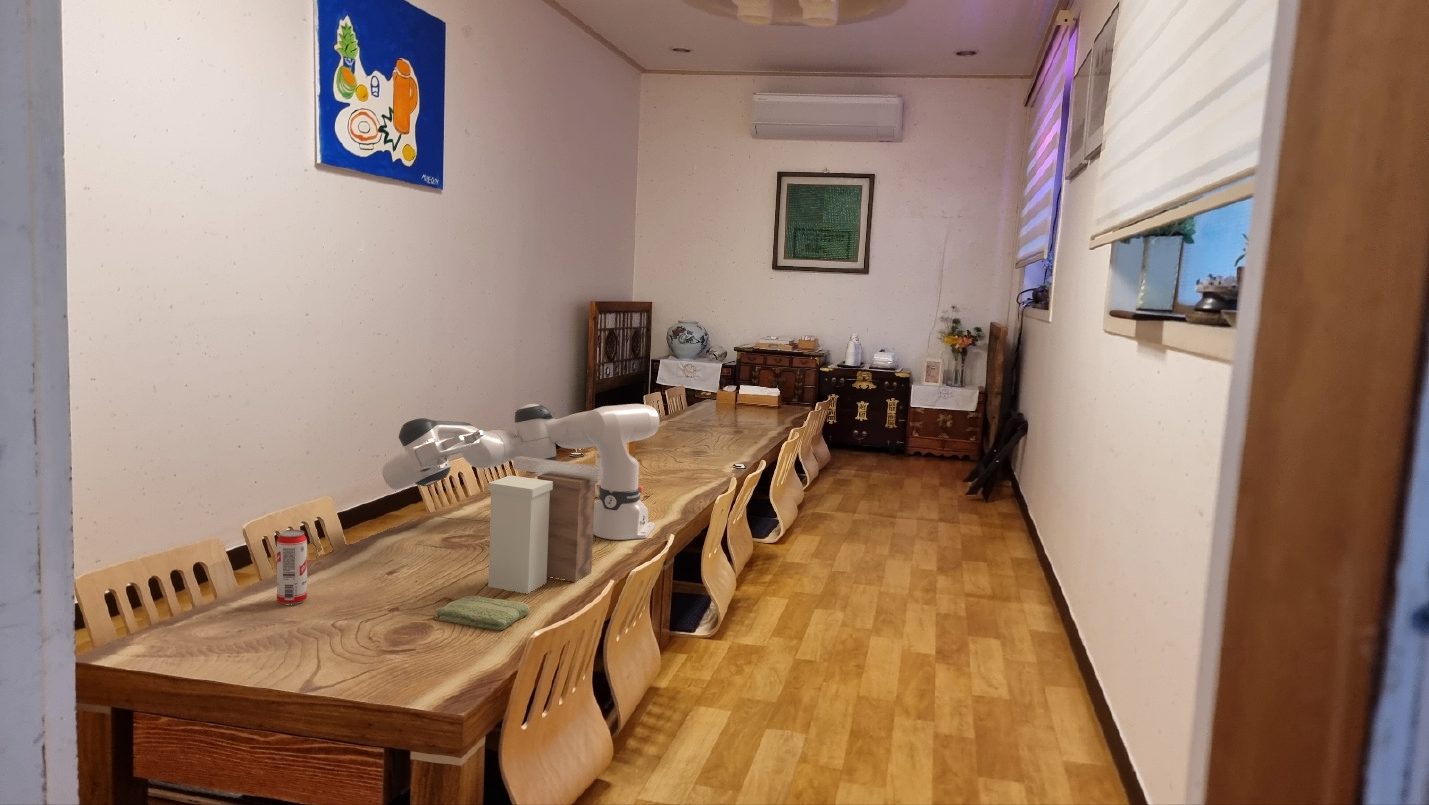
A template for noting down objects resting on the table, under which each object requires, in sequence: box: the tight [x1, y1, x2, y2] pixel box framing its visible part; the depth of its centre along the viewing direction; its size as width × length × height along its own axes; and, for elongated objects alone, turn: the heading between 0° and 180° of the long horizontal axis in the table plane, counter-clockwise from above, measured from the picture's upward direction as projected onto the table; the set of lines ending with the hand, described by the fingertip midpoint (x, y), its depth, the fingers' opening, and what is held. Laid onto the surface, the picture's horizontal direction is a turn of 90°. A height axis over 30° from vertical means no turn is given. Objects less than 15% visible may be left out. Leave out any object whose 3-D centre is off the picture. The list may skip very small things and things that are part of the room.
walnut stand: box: [536, 474, 598, 583], centre depth 245 cm, size 10×12×26 cm
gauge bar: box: [513, 456, 603, 481], centre depth 244 cm, size 3×24×3 cm, turn 71°
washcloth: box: [435, 595, 530, 631], centre depth 214 cm, size 13×18×3 cm
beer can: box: [276, 529, 308, 606], centre depth 215 cm, size 6×6×16 cm
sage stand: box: [487, 475, 553, 595], centre depth 234 cm, size 10×12×26 cm
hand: (471, 435), depth 251 cm, fingers open, 8 cm apart
